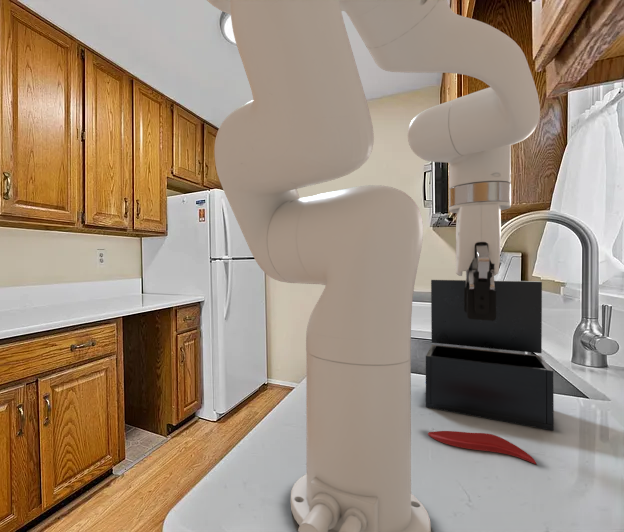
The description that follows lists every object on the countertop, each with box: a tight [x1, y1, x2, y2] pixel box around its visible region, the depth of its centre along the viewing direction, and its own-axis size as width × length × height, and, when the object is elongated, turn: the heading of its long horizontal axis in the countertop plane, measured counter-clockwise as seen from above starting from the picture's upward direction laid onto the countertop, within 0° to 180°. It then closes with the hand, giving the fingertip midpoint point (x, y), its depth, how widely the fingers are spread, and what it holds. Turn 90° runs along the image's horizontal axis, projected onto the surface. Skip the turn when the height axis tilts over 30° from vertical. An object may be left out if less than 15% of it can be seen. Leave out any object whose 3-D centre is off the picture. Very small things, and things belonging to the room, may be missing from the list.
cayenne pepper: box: [427, 430, 537, 465], centre depth 50 cm, size 12×5×2 cm, turn 42°
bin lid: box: [430, 279, 543, 354], centre depth 70 cm, size 12×17×6 cm
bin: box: [425, 344, 555, 431], centre depth 64 cm, size 12×17×9 cm
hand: (478, 316), depth 54 cm, fingers open, 9 cm apart
